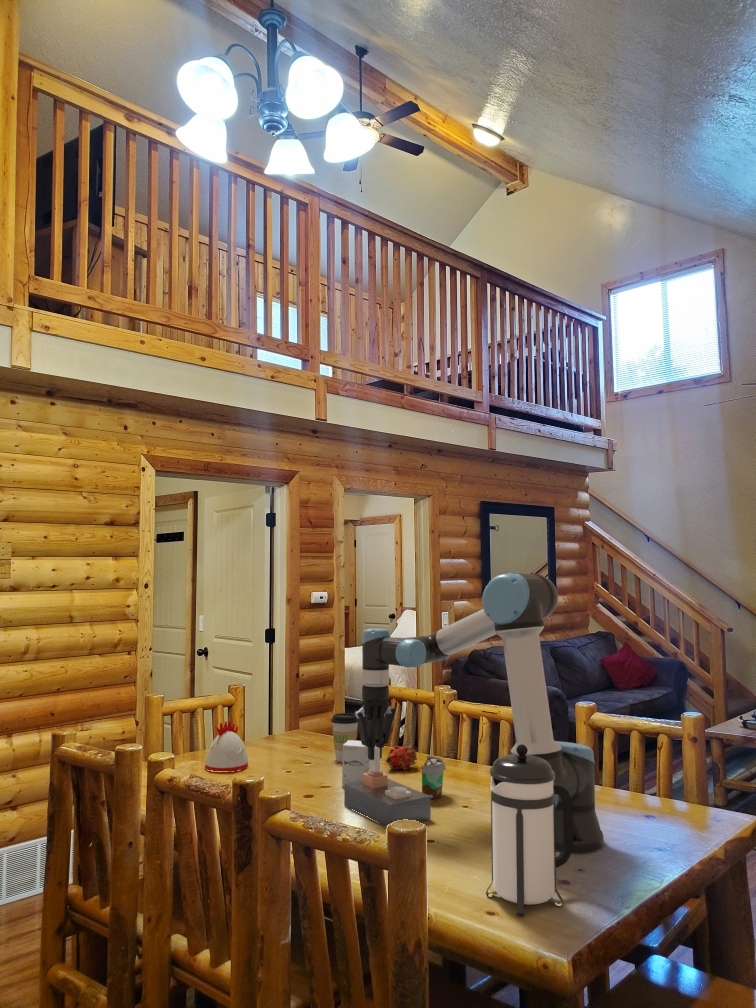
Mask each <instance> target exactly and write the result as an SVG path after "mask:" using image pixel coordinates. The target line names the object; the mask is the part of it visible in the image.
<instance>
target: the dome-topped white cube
mask: <svg viewBox="0 0 756 1008" xmlns="http://www.w3.org/2000/svg"><path fill="white" fill-rule="evenodd" d="M385 795H387V796H389V797H391V798H393V799H401V798H405V797H410V796H411V792H410V791H407V789H406V788H404V787H392V788H390V790H385Z"/></svg>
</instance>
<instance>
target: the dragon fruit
mask: <svg viewBox="0 0 756 1008" xmlns="http://www.w3.org/2000/svg"><path fill="white" fill-rule="evenodd" d="M385 762H386V763H387V764H388V765H389V768H390V770H391V771H392V770H395V771H398V770H400V769H402V770H403V771H404V772H405V771H406V770H408V769H409V770H410V768H411V766H414V765H416V764H417V750H415V748H413V746H411V745H409V746H406V745H405V744H404V743H403V744H402V746H400V745H396V746H394V748H391V749H390V750H389V753H388V756H387V759H386V761H385Z"/></svg>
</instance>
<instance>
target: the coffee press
mask: <svg viewBox="0 0 756 1008" xmlns="http://www.w3.org/2000/svg"><path fill="white" fill-rule="evenodd" d="M516 751H517V753H518V754H512V755H511V754H505V755H503V756H500V757H498V758H496V759H495V761H493V764H492V767H490V768H489V774H490V785H489V788H490V799H491V800H490V811H491V812H490V822H491V823H490V825H491V826H490V827H491V828H490V830H491V833H490V835H491V836H490V837H491V839H490V840H491V842H490V843H491V883H490V884H489V885H488V887H487V888H486V891H485V895H486V896H487V897H488V893H489V890H490V889H491V887H492V885H493V888H494V892H493V893H492V894H493V895H492V896H493V897H494V896H495V895H496V894H497V895H498V896H500V897H501V898H503V899H504V900H506V901H509V902H511V903H514V904H516V916H517V915H519V916H518V917H522V916H524V917H525V910H526V909H525V908H526V905H539V904H542V903H546V902H548V901H549V900H550V901H551V902H552V903H553V904H554V905H555V903H556V902H557V901H556V899H555V898H554V897H553V896H554V895H555V894H556V896H557V897H558V898H559V900H560V901H561V902H562V905H563V904H564V898H563V897H562V895H561V894H560V892H559V891H558V888H557V887H558V886H557V868H560V867H562V866H563V865H565V864H566V863H567V862H568V861H569V859H570V857H571V855H572V853H571V852H572V847H573V816H572V802H571V797H570V795H569V793H568V791H567V790H566V789H565V788H564V787H562V786H559V785H553V781H554V779H555V772H554V771H553V770H552V767H551V765H550V764H549V763H548V762H547V761H546V760H544V759H542V758H540V757H536V756H532V755H526V754H527V751H528V750H527V747H526V746H525V745H523V744H520V745H518V746H517V749H516ZM555 794H558V795H559V796H560V797H561V800H562V805H563V848H562V851H560V853H559V854H558V855H557V853H556V851H557V850H556V839H555ZM554 845H555V850H554Z"/></svg>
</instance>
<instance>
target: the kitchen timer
mask: <svg viewBox="0 0 756 1008" xmlns="http://www.w3.org/2000/svg"><path fill="white" fill-rule="evenodd" d="M235 726H236V724H235V723H232V721H231V720H228V722H227V721H224V724H223V723H222V722H220V723H219V728H218V727H217V726H216V727H215V731H216V732H217V735H216V737H215V738H214V739H213V741H212V742H211V744H210V746H209V749H208V752H207V756H206V759H205V766H204V769H205V768H206V769H208V770H213V771H237V770H242V771H244V770H243V769H245V770H246V769H248V768H249V759H248V753H247V750H246V746H245V744H244V742H243V740H242V739H241V737H240V736H239V735H238V734H237V733H238V731H239V726H236V727H235ZM247 767H248V768H247ZM206 769H205V770H206Z"/></svg>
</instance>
